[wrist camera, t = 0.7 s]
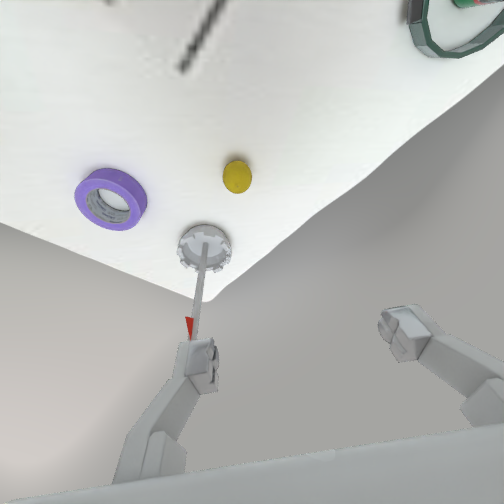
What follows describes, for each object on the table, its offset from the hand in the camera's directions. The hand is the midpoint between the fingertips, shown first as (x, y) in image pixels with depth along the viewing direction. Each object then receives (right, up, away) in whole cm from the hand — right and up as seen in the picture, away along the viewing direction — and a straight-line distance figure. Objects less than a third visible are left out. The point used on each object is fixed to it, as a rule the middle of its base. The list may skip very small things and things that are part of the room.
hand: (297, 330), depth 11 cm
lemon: (-5, +21, +34) cm, 41 cm away
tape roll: (-31, +16, +37) cm, 51 cm away
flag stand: (-14, +6, +47) cm, 50 cm away
